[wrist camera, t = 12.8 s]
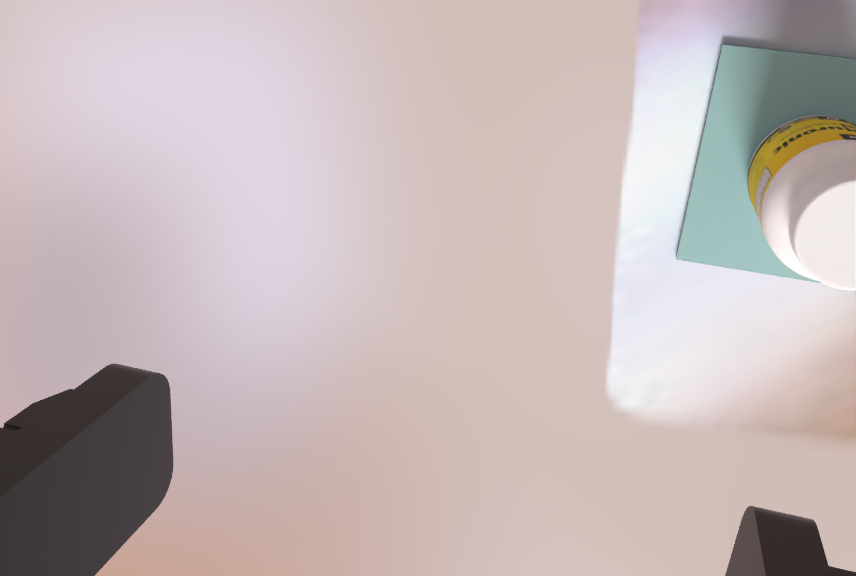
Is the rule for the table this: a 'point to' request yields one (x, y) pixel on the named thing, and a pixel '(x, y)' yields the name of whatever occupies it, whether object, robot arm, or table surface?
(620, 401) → the table surface
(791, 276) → the pad
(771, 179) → the supplement bottle
